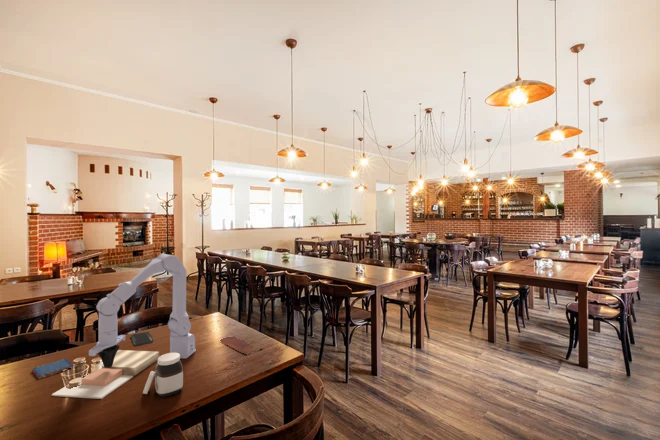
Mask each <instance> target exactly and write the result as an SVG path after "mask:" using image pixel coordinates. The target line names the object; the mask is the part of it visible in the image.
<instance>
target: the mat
mask: <svg viewBox="0 0 660 440" xmlns="http://www.w3.org/2000/svg"><path fill="white" fill-rule="evenodd" d="M87 374H88V375H89V374H91V372H90V373H87ZM88 375H87V376H88ZM132 378H134V376H131V375H121V376H120V377H118V378H117V379H115V380H114V381H112V382H110V383H109V384H107V385H106V386H94V385H80V386H77V387H73V388H71V389H67V388H66V386H67V385H66V386H64V387H62V388H60V389H59V390H57V391H55V392H53V393H52V394H51V397H61V398H62V397H63V398H64V397H65V398H77V399H78V398H80V399H81V398H83V399H97V400H99V399H100V400H102V399H104V398H105V397H107V396H108V395H109V394H110V393H112V392H114V391H115V390H117V389H118V388H119V387H120V386H122V385H124V384H125V383H127V382H128V381H129V380H131V379H132Z"/></svg>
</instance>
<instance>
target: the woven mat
mask: <svg viewBox="0 0 660 440" xmlns="http://www.w3.org/2000/svg"><path fill="white" fill-rule="evenodd" d="M70 367H72V368H74V364H73V363H72V362H71V361H69V360H68V359H67V358H63V359H59V360H57V361H54V362H50V363H45V364H43V365H39V366H35V367H33V368H32V370H31V372H32V374H33V375H35V378H37V379H38V380H41V379H42V378H46V377H50V376H53V375H58V374H57V373H59V374H60V373H61V371H63V370H64V369H67V370H69V369H68V368H70Z"/></svg>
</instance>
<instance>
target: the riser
mask: <svg viewBox="0 0 660 440" xmlns="http://www.w3.org/2000/svg"><path fill="white" fill-rule="evenodd" d="M158 357H160V351H153V350H152V351H149V350H128V349H125V350H124V349H118V351H117V353H116V355H115V358H114V361H113V365H112V367H110V368H107V369H122V372H123V375H128V376H133V377H134V376H136V375H139V374H140V373H141V372H142V371H144V370H145V369H147V368H148V367H149V366H151V365H153V364H155V362H158ZM102 368H104V365H102Z"/></svg>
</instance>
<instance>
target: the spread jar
mask: <svg viewBox="0 0 660 440" xmlns="http://www.w3.org/2000/svg"><path fill="white" fill-rule="evenodd" d="M180 359H181V358H180V354H179V353H170V352H168V353H164V354H162V355H159V357H158V360H157V364H156V365H155V369H154V371H153V370H151V371H150V372H149V375H148V378H147V380H146V383H145V385H144V388H143V390H142V394H145V395H148V393H149V391H150V387H151V385H152V383H153V381H154V387H155V392H156V394H157V395H158V396H160V397H170V396H172V395H175V394H177V393H178V392H179V391H181V390H182V389H183V385H184V370H183V364H182V361H181V360H180Z"/></svg>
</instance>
